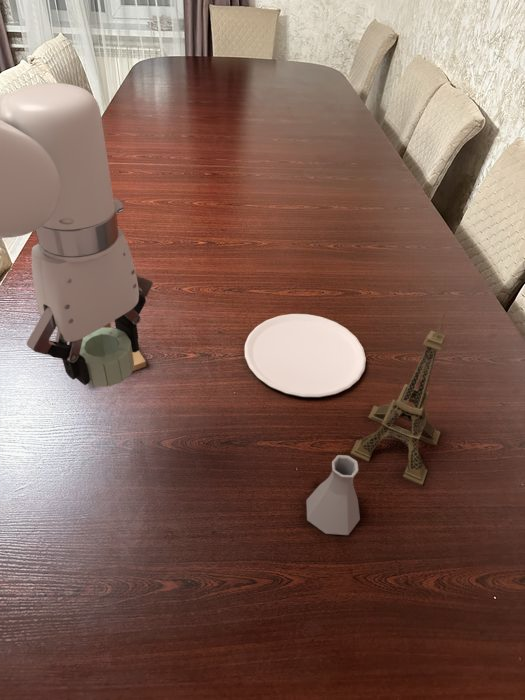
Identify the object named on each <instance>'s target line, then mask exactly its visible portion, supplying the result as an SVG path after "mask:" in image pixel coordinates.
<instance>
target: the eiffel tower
mask: <svg viewBox="0 0 525 700" xmlns="http://www.w3.org/2000/svg"><path fill="white" fill-rule="evenodd" d="M446 313H447V310H445V311H444V313H443V317H442V319H441V321H440V323H439V326H438V328H437V330H436V331H434V330H430V331H429V333H428V334H427V335H426V337H425V339H424V342H423V343H422V345H423V346H426V348H425V350H424V352H423V354H422V356H421V358H420V360H419V361H418V364H417V366H416V368H415V370H414V372H413V375H412V376H411V379H410V381H409V383H408V384H407V383H405V384H404V386H402V389H401V392H400V394H399V396H398V398H397V399H396V400H395V399H394V398H393V399H392V401H391V402H390V404H382V405H379V406H377V405H375V404H374V405H373V407H372V408H371V410H370V413H369V414H368V416H367V419H369V420H370V421H371V420H372V421H374V422H376V423H379V424H380V426H379V428H378V429H377V430H376V431H375V432H373V433H371V434H369V435H367V436H365V437H362V438H361V439H356V440H355V443H354V445H353V447H352V449H351V451H350V453H349V454H350V455H351V456H353V457H355V458H358V459H360V460H363V461H364V462H367V463H369V462H370V459H371V457H372V455H373V453H374V450H375V448H376V447H377V446H378V444H380V442H381V441H382V440H383V439H384V438H390V439H396V440H398V441H400V442H401V443H403V444H404V445H405V446H406V447H408V451H407V452H408V453H407V465H406V468H405V470H404V472H403V475H402V478H403V479H405V480H408V481H409V482H412V483H414V484H416V485H419V486H421V487H422V486H423V484H424V482H425V479H426V476H427V473H428V469H427V468H426V467H425V464H424V461H423V458H422V456H421V454H420V451H419V440H420V441H422V442H425V443H427V444H428V445H429V444H430V445H432V446H434V447H436V446H437V444H438V441H439V438H440V436H441V431H439V430H436V427H435V426H434V425H433V423H431V421H430V420H429V418H428V417H429V415H430V413H429V412H426V408H425V407H426V405H427V402H428V400H429V397H430V392H429V391H427V389H428V385H429V383H430V379H431V374H432V371H433V367H434V363H435V359H436V356H437V352H438V351H440V352H441V351H442V349H443V347H444V344H445V342H446V340H445V337H446V335H445V334H442V333H440V331H441V328H442V325H443V322H444V319H445V316H446ZM419 380H420V381H419ZM418 382H419V384H418ZM417 384H418V388H416V387H417ZM409 402H410V403H412V404H413V406H410V405H408V403H409ZM398 419H404V420H405V421H409V423H410V430H409V429H405V428H403V427H401V426H399V425H396V424H394V423H395V422H396V421H397V420H398Z"/></svg>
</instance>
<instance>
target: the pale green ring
mask: <svg viewBox="0 0 525 700" xmlns="http://www.w3.org/2000/svg"><path fill="white" fill-rule="evenodd" d="M80 355H81V356H83V357H84V358H85V361H86V366H87V370H88V374H89V378H90V381H89V383H88V384H87V385H90V386H92V387H103V388H104V387H105V388H107V387H111V386H115V385H117V384H120V383H122V382H124V381H125V380H126V379H127V378H128V377H129V376H130V375H131V374H132V373H133V372H134V371H133V366H134V359H133V353H132V346H131V341H130V339H129V337H128V336H127V334H126V333H125V332H123V331H121V330H118V329H116V327H111V328H103V327H102V328H101V329H98V330H97V331H95V332H93V333H91V334H89V335H88V336H86V337H84V338H83V340H82V345H81V350H80Z"/></svg>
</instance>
